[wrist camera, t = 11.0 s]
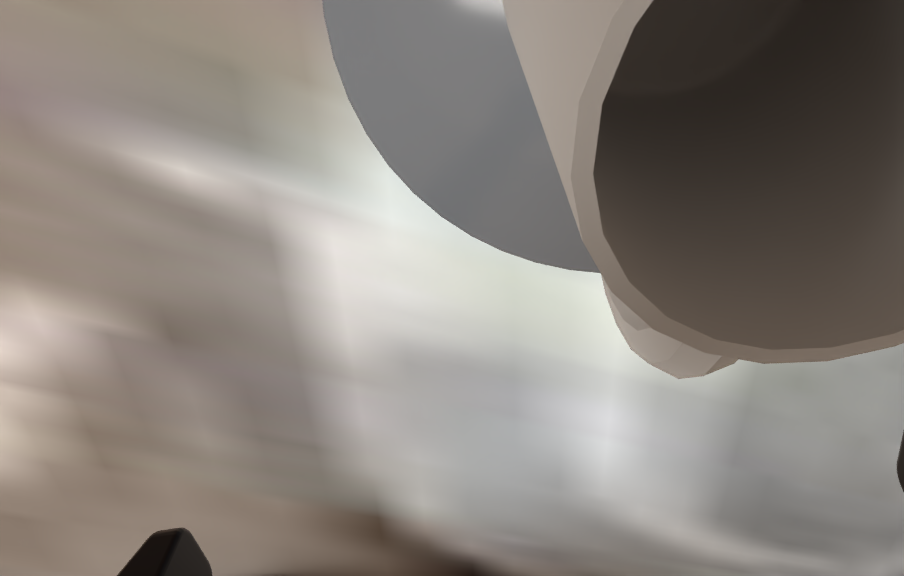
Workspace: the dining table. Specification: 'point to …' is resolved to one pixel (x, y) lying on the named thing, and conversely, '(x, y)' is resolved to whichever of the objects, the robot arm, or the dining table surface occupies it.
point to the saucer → (457, 120)
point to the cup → (730, 169)
